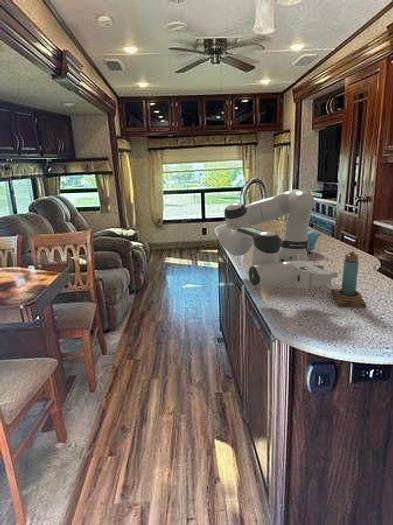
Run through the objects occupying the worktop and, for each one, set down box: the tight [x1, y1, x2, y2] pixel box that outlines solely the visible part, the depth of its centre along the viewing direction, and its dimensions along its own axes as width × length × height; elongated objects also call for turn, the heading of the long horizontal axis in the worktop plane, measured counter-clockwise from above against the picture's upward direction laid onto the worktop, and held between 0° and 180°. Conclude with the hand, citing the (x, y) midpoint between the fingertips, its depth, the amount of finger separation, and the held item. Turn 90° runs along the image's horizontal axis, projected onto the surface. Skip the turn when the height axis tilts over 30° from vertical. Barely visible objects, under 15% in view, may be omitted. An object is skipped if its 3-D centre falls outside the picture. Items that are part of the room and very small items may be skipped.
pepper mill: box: [341, 250, 359, 296], centre depth 132 cm, size 5×5×18 cm
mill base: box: [330, 288, 367, 309], centre depth 135 cm, size 10×15×3 cm, turn 168°
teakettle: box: [282, 227, 324, 254], centre depth 210 cm, size 19×19×15 cm
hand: (329, 270), depth 130 cm, fingers open, 8 cm apart
